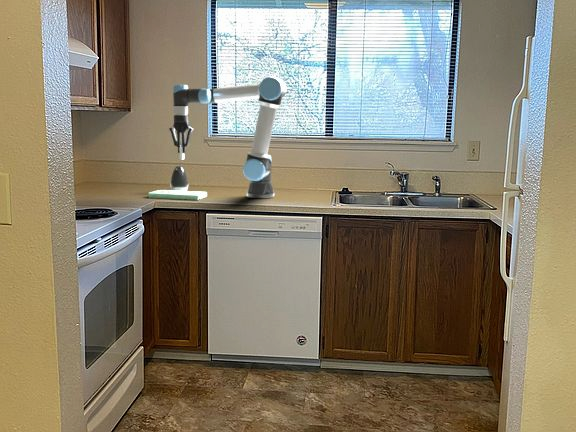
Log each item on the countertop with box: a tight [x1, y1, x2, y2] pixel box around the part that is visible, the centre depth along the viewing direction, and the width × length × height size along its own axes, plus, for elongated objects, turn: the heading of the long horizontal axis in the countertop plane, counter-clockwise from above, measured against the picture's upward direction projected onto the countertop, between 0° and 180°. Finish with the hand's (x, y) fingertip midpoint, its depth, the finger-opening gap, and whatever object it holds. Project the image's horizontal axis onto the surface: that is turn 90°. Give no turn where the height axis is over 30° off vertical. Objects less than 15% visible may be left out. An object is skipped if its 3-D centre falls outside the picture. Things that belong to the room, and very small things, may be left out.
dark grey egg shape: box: [169, 165, 190, 191], centre depth 336 cm, size 10×10×15 cm
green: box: [147, 189, 208, 201], centre depth 320 cm, size 28×14×2 cm, turn 78°
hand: (181, 159), depth 316 cm, fingers closed
